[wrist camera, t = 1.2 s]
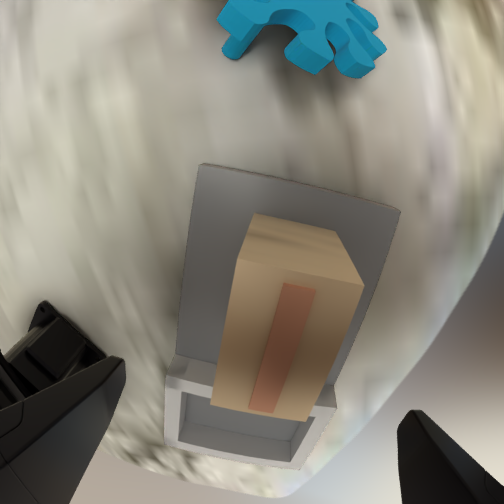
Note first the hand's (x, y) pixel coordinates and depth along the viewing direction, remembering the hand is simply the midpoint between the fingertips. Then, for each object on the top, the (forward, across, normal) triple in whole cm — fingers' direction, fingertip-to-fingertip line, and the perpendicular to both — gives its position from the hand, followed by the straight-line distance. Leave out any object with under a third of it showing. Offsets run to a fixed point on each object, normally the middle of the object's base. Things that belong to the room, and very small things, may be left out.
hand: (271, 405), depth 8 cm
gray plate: (+9, 0, +5) cm, 11 cm away
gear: (+10, +3, -14) cm, 17 cm away
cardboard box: (+8, 0, 0) cm, 8 cm away
